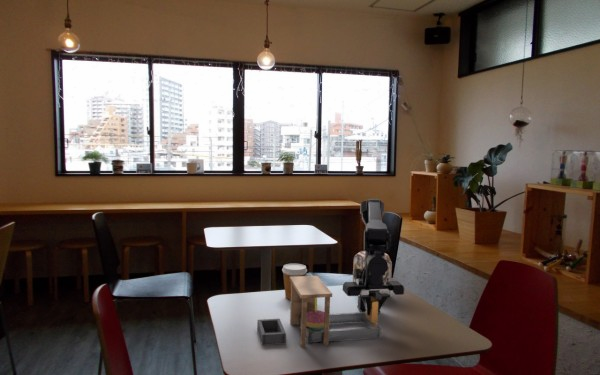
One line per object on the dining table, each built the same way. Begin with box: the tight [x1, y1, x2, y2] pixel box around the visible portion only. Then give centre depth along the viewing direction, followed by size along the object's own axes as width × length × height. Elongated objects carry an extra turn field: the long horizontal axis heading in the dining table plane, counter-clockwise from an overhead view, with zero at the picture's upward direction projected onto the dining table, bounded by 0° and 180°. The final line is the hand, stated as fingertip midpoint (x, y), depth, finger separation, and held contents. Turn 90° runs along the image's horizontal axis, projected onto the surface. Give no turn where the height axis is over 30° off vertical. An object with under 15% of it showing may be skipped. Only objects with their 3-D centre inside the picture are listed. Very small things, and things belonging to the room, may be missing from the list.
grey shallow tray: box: [298, 296, 382, 343], centre depth 134 cm, size 23×13×10 cm, turn 102°
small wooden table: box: [289, 275, 333, 348], centre depth 132 cm, size 9×17×16 cm, turn 12°
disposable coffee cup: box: [281, 263, 308, 301], centre depth 164 cm, size 10×10×12 cm
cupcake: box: [306, 298, 331, 331], centre depth 132 cm, size 9×8×12 cm
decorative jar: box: [352, 250, 393, 296], centre depth 172 cm, size 12×12×18 cm
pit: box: [256, 318, 287, 346], centre depth 130 cm, size 7×11×3 cm, turn 12°
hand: (371, 314), depth 137 cm, fingers open, 2 cm apart
